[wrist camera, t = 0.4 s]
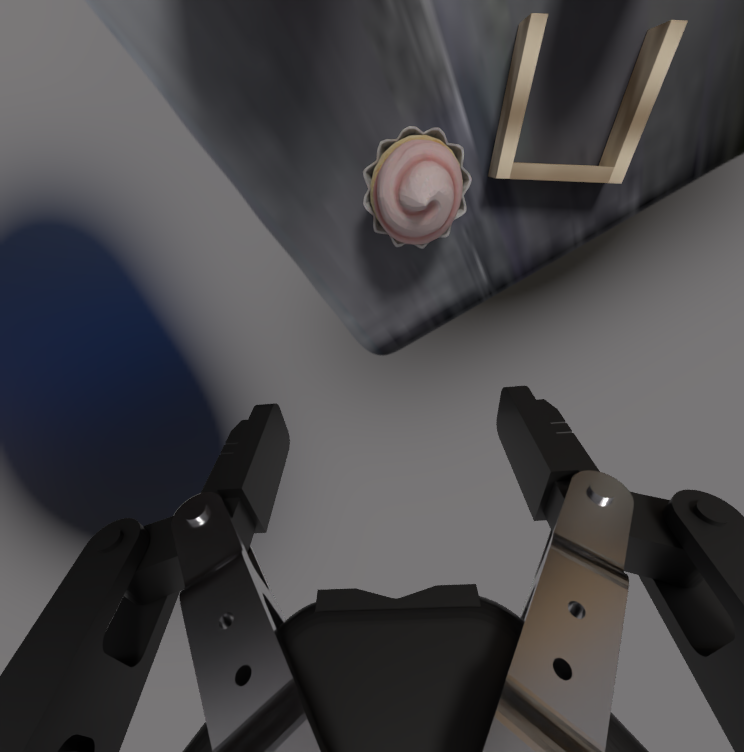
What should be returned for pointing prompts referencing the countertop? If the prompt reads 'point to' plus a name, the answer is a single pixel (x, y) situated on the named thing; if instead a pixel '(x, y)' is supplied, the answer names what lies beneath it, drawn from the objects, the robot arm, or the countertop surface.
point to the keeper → (627, 122)
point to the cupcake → (416, 187)
